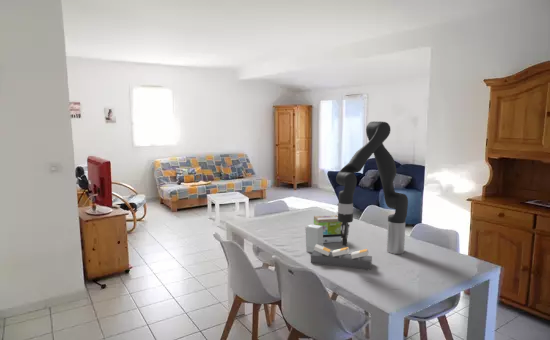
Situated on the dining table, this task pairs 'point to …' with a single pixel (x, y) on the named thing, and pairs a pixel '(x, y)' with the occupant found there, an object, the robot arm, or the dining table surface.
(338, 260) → the power strip
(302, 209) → the dining table surface
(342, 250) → the block
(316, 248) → the block
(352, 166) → the robot arm
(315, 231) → the skincare box
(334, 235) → the tea box
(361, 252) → the block
